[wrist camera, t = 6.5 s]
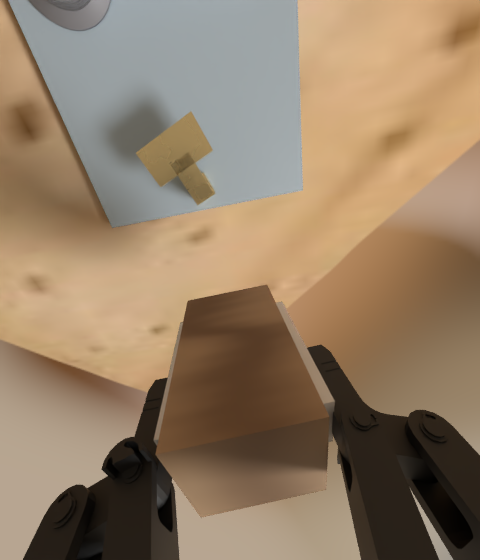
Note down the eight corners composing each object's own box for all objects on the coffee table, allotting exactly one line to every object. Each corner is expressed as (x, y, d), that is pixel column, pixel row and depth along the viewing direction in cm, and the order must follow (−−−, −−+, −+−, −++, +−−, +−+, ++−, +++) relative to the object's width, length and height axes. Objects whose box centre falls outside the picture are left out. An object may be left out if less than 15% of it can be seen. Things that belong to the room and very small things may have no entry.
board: (115, 226, 21) (75, 248, 15) (-72, -192, 11) (-444, -667, 5) (299, 189, 22) (334, 196, 15) (284, -248, 11) (370, -755, 5)
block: (207, 357, 15) (201, 517, 8) (187, 300, 13) (155, 454, 6) (274, 343, 15) (326, 489, 8) (267, 284, 13) (329, 416, 6)
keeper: (187, 208, 21) (181, 216, 17) (152, 157, 19) (135, 152, 15) (228, 181, 20) (231, 183, 16) (196, 124, 18) (191, 111, 14)
